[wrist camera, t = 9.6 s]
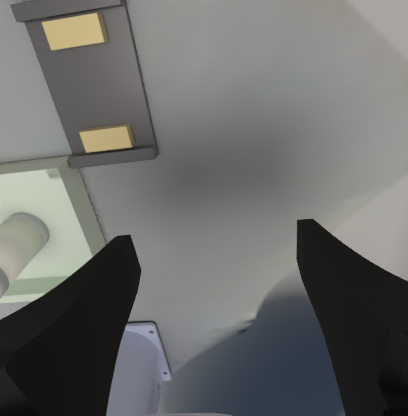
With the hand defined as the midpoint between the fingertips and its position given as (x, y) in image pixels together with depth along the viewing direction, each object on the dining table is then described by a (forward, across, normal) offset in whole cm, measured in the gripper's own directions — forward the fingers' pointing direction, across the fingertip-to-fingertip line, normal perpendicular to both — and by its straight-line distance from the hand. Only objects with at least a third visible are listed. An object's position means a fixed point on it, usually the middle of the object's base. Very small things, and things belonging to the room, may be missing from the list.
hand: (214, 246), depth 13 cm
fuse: (+9, +16, +4) cm, 19 cm away
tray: (+10, +16, +4) cm, 19 cm away
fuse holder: (+10, +7, -6) cm, 14 cm away
